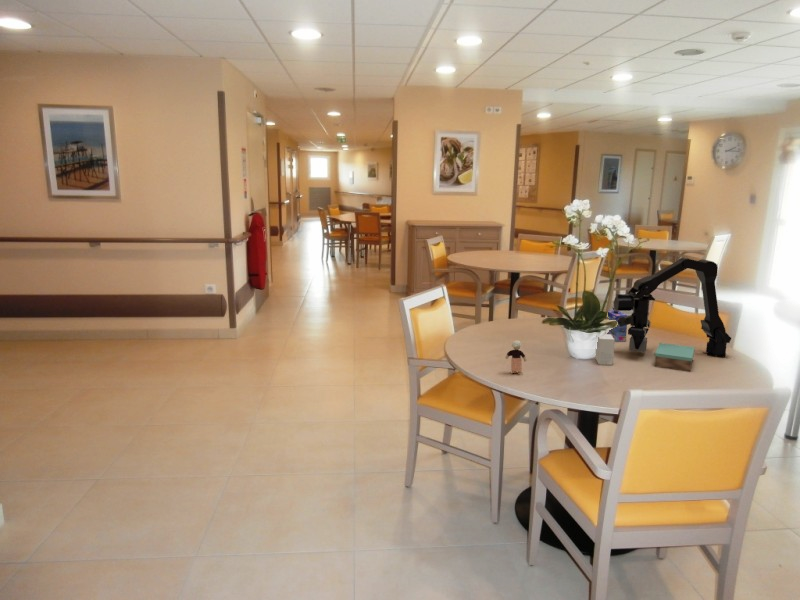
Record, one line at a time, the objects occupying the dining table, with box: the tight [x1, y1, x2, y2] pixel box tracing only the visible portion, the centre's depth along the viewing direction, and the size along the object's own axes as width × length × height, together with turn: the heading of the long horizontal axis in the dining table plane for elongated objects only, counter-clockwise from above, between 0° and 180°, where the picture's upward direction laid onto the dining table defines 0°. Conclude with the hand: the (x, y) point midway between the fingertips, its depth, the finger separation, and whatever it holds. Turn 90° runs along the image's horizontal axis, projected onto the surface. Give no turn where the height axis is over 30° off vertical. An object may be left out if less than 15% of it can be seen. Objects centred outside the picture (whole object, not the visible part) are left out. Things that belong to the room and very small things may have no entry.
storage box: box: [654, 356, 693, 372], centre depth 208 cm, size 12×16×4 cm
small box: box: [594, 333, 615, 366], centre depth 209 cm, size 8×6×10 cm
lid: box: [654, 342, 695, 362], centre depth 207 cm, size 13×16×1 cm
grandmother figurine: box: [504, 340, 527, 375], centre depth 197 cm, size 8×4×13 cm, turn 80°
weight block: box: [628, 335, 648, 353], centre depth 218 cm, size 6×5×5 cm
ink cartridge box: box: [607, 306, 628, 342], centre depth 241 cm, size 10×6×14 cm, turn 5°
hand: (637, 347), depth 219 cm, fingers closed on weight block, 5 cm apart
